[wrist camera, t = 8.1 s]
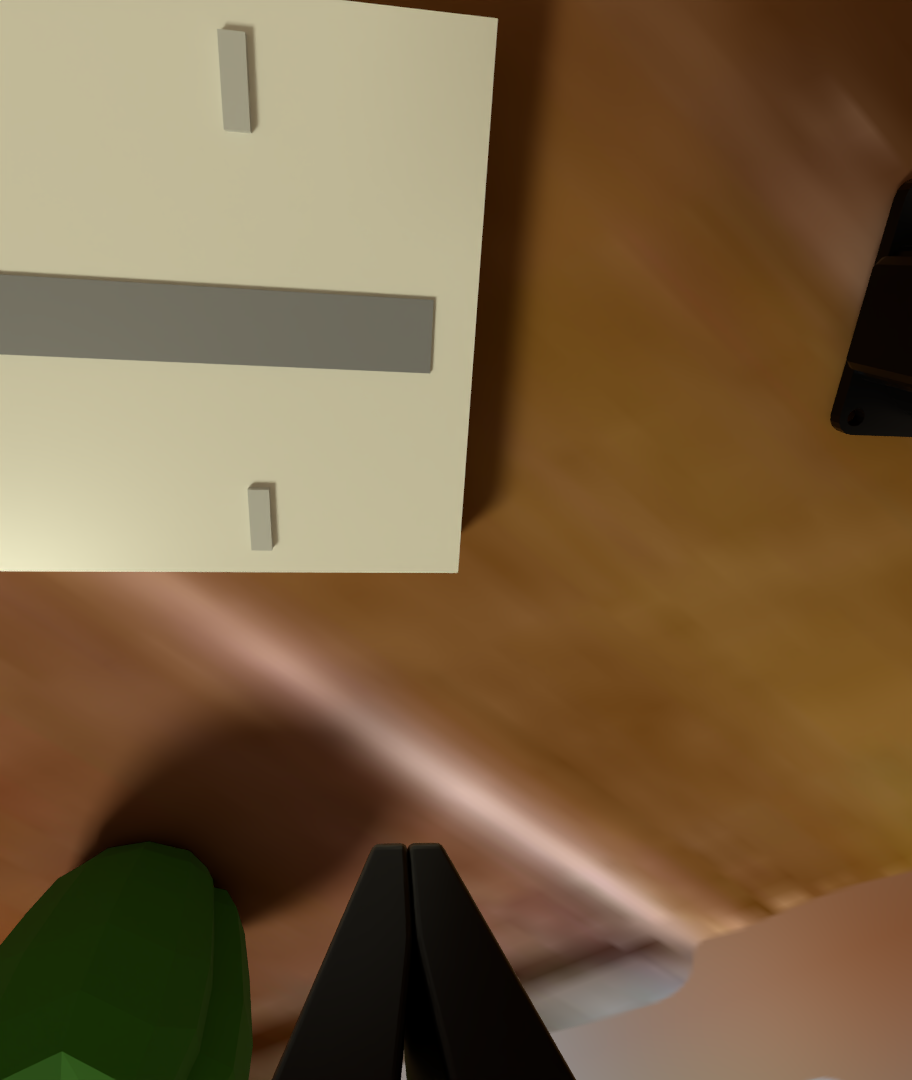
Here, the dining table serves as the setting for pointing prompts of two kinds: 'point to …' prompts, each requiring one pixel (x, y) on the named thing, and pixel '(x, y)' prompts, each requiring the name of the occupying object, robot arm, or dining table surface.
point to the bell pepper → (127, 975)
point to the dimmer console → (238, 283)
